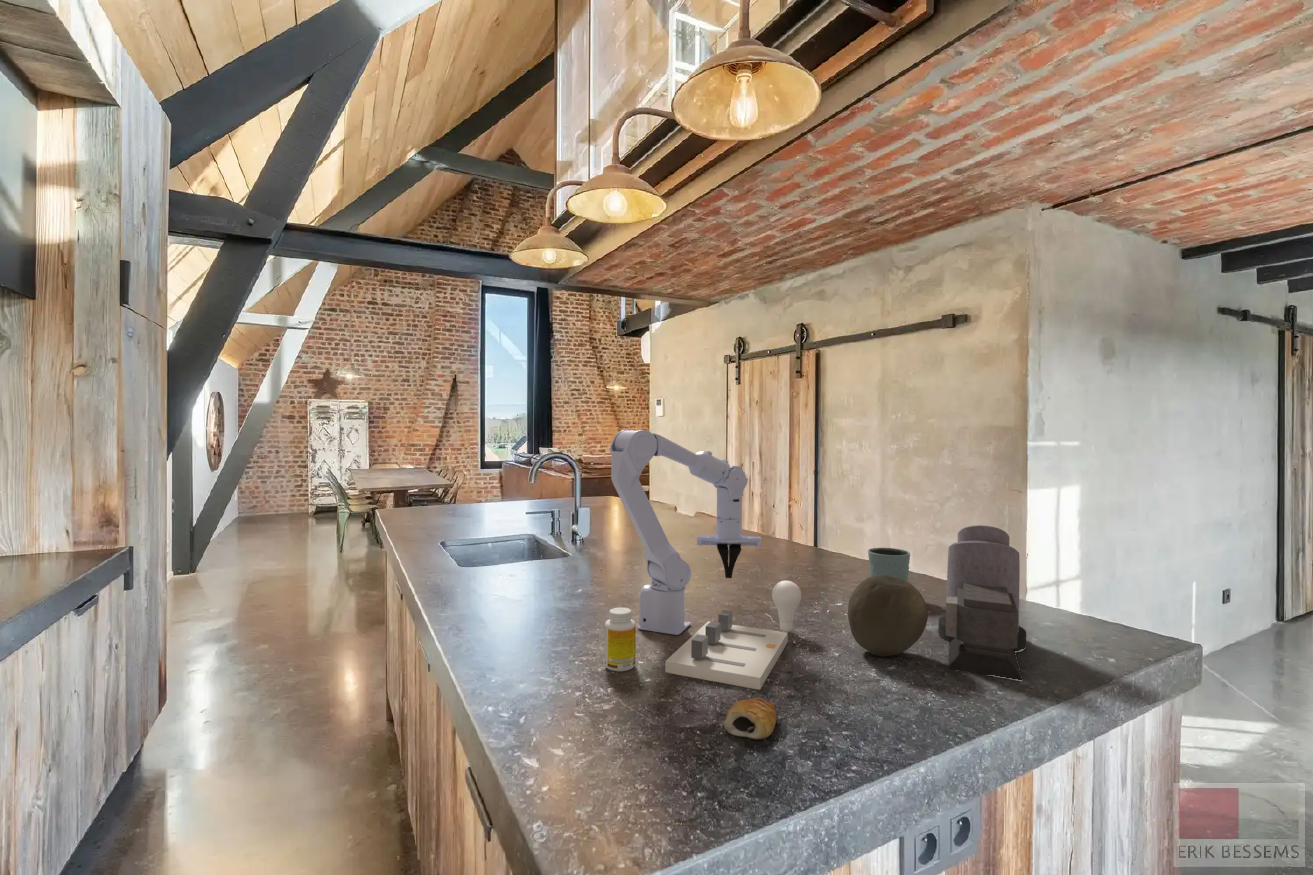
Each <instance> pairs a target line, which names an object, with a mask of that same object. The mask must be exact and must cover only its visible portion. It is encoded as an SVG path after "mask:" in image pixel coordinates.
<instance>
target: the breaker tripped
mask: <svg viewBox="0 0 1313 875" xmlns="http://www.w3.org/2000/svg"><path fill="white" fill-rule="evenodd" d="M720 634H721V623H719V622H718V621H710V623H709V624H708V625H706V635H705V636H708V644H715V645H716V643H717V642H718V641H719V640H720Z"/></svg>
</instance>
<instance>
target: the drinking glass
mask: <svg viewBox="0 0 1313 875" xmlns="http://www.w3.org/2000/svg"><path fill="white" fill-rule="evenodd" d="M867 555H868V563H869V564H868V565H869V574H870V575H869V577H873V576H876V575H889V576H894V577H897V578H901V579H904V580H906V581H907V582H909V570H910V562H911V561H910V560H911V559H910V558H911V553H910V551H909V550H905V549H901V548H894V547H873V548H869V549H868V550H867Z"/></svg>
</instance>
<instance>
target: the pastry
mask: <svg viewBox="0 0 1313 875" xmlns="http://www.w3.org/2000/svg"><path fill="white" fill-rule="evenodd" d="M776 723H777V712H776V707H775V705H774V704H773V703H772V702H771V701H767V700H765V699H763V698H761V697H751V698H746V699H740V700H737V701H736V702H735V704H733V705H732V706H730V707H729V709H728V711H727V715H726V719H725V720H724V721H723V727H724V729H725V730H726V732H727V733H729V734H731V735H733V736H737V737H741V738H742V737H743V738H748V739H752V740H763V739H764V740H765V739H766V738H768V737H771V734H772V733H773V732H774V729H775V726H776Z"/></svg>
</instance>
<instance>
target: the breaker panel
mask: <svg viewBox="0 0 1313 875" xmlns="http://www.w3.org/2000/svg"><path fill="white" fill-rule="evenodd" d="M710 622H711V621H709V620H707V622H705V624H704V625H702V626H701V627H700V628H699V629H698V630H697V631H696V632H695V633H694V634H693V635H691V637H689V639H687V641H685V642H684V643H683V644H682V645H680V647H679V648H678V649H677V650H676V651H675V652H673V653H672V654H671V655H670V656H669V657H668V658H667V659H666V660H665V664H664V665H665V667H664V668H665V670H664V671H665V673H667V674H672V675H678V676H683V677H689V678H695V679H699V680H705V681H711V682H715V683H721V684H727V685H731V686H732V685H733V686H737V687H742V688H747V689H754V690H759V691H760V690H761V689H762V687H763V685H764V684H765V682H766V680H767V678H768V677H769V675H770V674H771V673H772V672H771V671H772V670H773V668H774V666H775V665H776V664H777V662H778V660H779V659H780V657H781V654H782V653H783V651H784V649H785V648H786V646H787V645H788V643H789V637H788V636H789V632H787V633H786V632H784V631H779V630H772V629H766V628H757V627H750V626H746V625H745V626H743V625H737V624H732V627H731V628H730V630H729V631H721V634H720V640H719V641H718V642H717V643H716V645H715V644H708V654H707V655H706V656H705V657H704V658H703V659H702V660H701V659H695V658H691V646H692V639H693V638H694V637H695V636H696V635H697V634H699V635H706V625H708V624H709V623H710Z"/></svg>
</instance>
